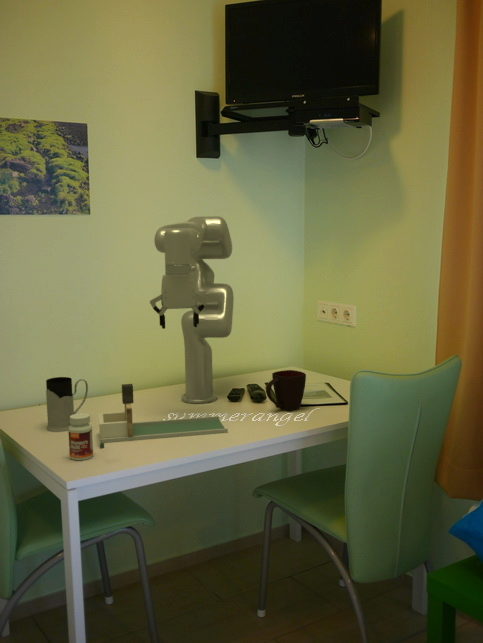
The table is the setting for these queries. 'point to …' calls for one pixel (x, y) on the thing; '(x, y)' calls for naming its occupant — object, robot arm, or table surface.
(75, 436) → the pill bottle
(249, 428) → the table surface
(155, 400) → the table surface
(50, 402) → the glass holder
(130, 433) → the striker
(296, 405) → the cup
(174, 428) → the pitch
